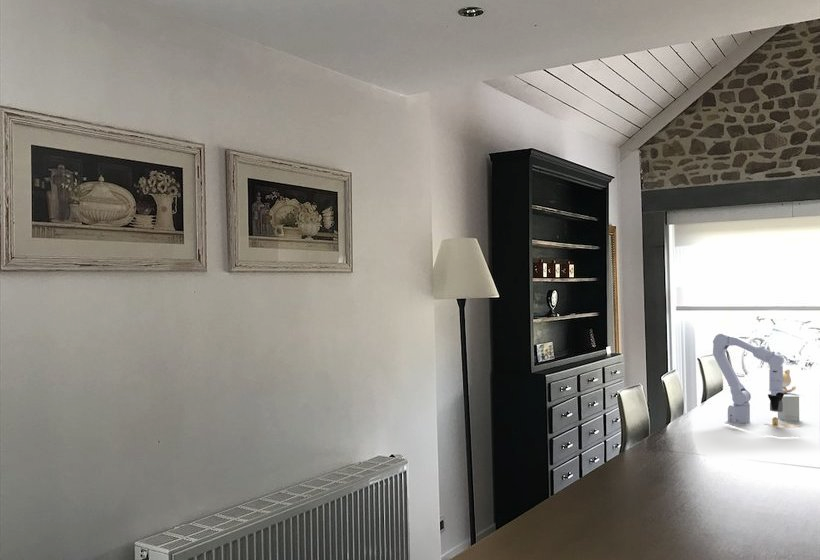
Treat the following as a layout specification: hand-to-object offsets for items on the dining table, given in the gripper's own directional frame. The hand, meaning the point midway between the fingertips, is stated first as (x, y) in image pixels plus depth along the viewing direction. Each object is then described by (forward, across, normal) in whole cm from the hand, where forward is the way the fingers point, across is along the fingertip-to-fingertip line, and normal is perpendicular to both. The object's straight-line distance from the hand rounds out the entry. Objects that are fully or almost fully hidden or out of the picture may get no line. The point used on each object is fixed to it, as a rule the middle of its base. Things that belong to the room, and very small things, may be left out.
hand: (776, 409), depth 356 cm
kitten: (+9, +115, +17) cm, 117 cm away
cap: (+1, 0, 0) cm, 1 cm away
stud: (+7, 0, 0) cm, 7 cm away
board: (+8, 0, -3) cm, 9 cm away
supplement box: (+8, +18, -2) cm, 20 cm away
